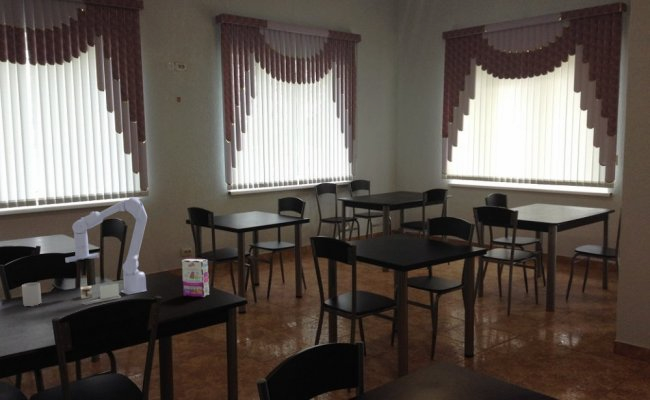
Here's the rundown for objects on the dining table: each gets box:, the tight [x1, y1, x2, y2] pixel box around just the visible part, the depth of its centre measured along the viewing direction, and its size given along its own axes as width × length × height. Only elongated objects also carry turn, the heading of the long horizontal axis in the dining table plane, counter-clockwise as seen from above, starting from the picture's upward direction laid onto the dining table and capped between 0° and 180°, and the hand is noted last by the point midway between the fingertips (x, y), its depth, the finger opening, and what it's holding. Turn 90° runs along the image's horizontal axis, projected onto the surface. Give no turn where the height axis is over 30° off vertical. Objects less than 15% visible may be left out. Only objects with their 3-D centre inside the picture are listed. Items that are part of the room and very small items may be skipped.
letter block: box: [80, 285, 93, 300], centre depth 273 cm, size 4×5×4 cm
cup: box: [21, 282, 42, 307], centre depth 264 cm, size 7×10×9 cm
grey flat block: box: [99, 282, 120, 299], centre depth 268 cm, size 8×1×6 cm, turn 131°
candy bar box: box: [181, 258, 210, 298], centre depth 270 cm, size 11×5×16 cm, turn 68°
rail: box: [82, 294, 122, 306], centre depth 266 cm, size 16×2×1 cm, turn 131°
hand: (83, 275), depth 275 cm, fingers closed
